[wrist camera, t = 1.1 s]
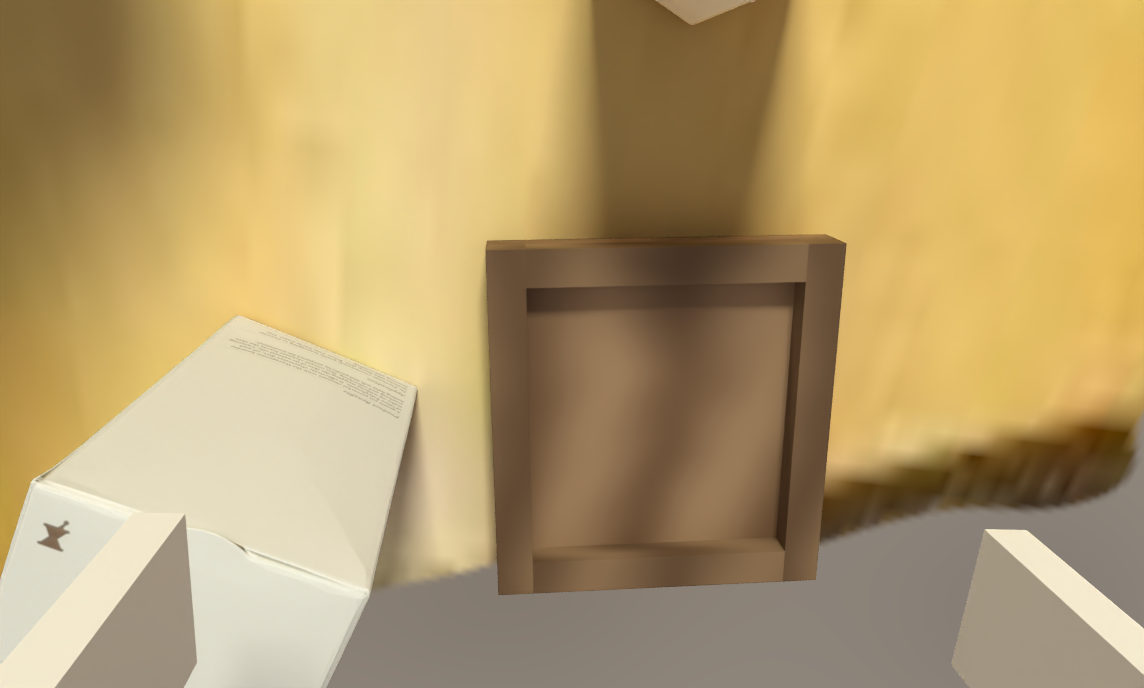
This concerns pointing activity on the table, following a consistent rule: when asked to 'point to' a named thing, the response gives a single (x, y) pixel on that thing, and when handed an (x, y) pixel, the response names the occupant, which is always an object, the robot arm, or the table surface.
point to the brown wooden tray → (660, 408)
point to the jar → (700, 8)
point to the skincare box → (234, 502)
